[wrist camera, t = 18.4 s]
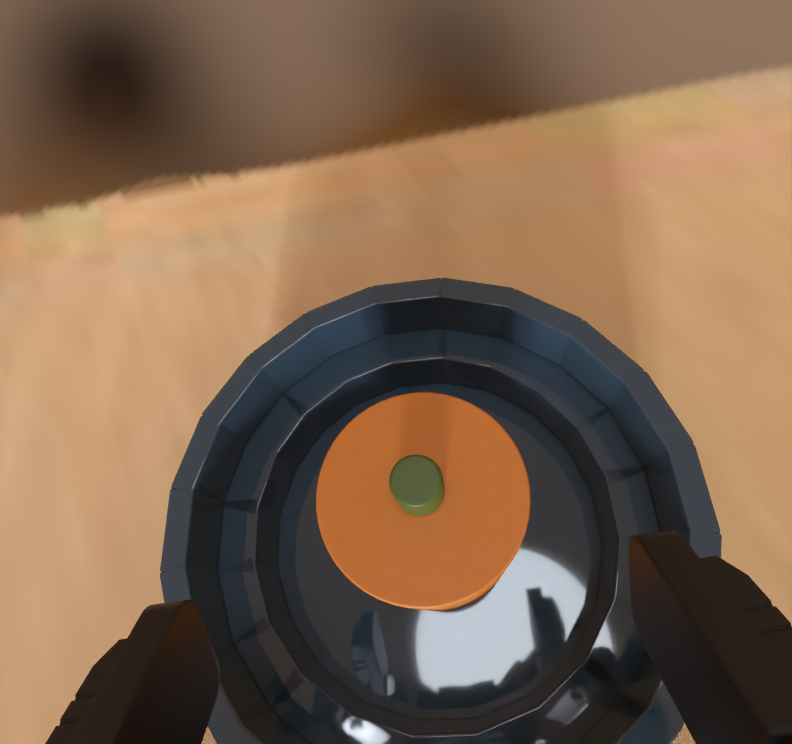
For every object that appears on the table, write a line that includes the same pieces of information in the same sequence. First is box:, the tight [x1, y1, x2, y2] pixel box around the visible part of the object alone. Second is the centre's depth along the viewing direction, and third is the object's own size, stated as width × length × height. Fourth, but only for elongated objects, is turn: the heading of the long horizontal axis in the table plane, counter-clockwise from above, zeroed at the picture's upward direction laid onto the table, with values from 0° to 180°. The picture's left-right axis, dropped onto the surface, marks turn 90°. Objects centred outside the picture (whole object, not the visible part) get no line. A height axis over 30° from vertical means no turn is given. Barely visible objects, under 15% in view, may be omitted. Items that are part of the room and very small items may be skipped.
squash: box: [316, 392, 531, 611], centre depth 15 cm, size 5×5×8 cm
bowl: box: [160, 278, 722, 744], centre depth 18 cm, size 16×16×5 cm
